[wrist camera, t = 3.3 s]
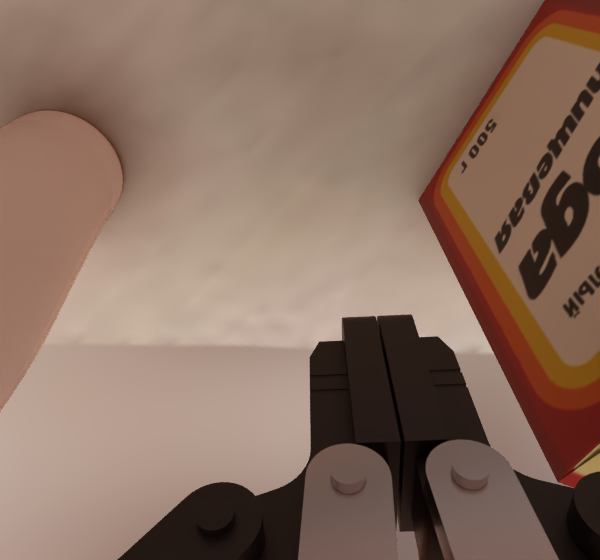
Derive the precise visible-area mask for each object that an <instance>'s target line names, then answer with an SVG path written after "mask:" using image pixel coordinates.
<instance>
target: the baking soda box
mask: <svg viewBox="0 0 600 560" xmlns="http://www.w3.org/2000/svg"><path fill="white" fill-rule="evenodd" d="M419 203H420V205H421V207H422V209H423V211H424V213H425V215H426V217H427V219H428V221H429V223H430V225H431V227H432V229H433V231H434V233H435V235H436V237H437V239H438V241H439V243H440V245H441V247H442V249H443V251H444V253H445V255H446V257H447V259H448V261H449V263H450V265H451V267H452V269H453V271H454V273H455V275H456V277H457V279H458V281H459V283H460V285H461V287H462V290H463V292H464V294H465V296H466V298H467V300H468V302H469V304H470V306H471V308H472V310H473V312H474V314H475V316H476V318H477V320H478V322H479V324H480V326H481V328H482V330H483V332H484V334H485V336H486V338H487V340H488V342H489V344H490V346H491V348H492V350H493V352H494V354H495V356H496V358H497V360H498V362H499V364H500V366H501V368H502V370H503V372H504V374H505V376H506V378H507V380H508V382H509V384H510V386H511V388H512V390H513V393H514V395H515V397H516V399H517V401H518V402H519V405H520V406H521V408H522V411H523V413H524V415H525V417H526V419H527V421H528V423H529V425H530V427H531V429H532V431H533V433H534V435H535V437H536V439H537V441H538V443H539V445H540V447H541V449H542V451H543V453H544V455H545V457H546V459H547V461H548V463H549V465H550V467H551V469H552V471H553V473H554V475H555V477H556V479H557V481H558V482H559V483H562V484H565V485H568V486H570V487H573V488H575V487H576V484H577V483H578V482H579V480H580V479H581V478H583V477H584V476H586V475H588V474H590V473H594V472H600V0H545V1H544V3H543V4H542V6H541V8H540V9H539V11H538V12H537V14H536V15H535V17H534V19H533V20H532V22H531V23H530V25H529V27H528V28H527V30H526V31H525V33H524V34H523V36H522V38H521V39H520V41H519V42H518V44H517V46H516V47H515V49H514V50H513V52H512V53H511V55H510V57H509V58H508V60H507V61H506V63H505V65H504V66H503V68H502V69H501V71H500V72H499V74H498V76H497V77H496V79H495V80H494V82H493V83H492V85H491V87H490V88H489V90H488V91H487V93H486V95H485V96H484V98H483V99H482V101H481V102H480V104H479V106H478V107H477V109H476V110H475V112H474V114H473V115H472V117H471V118H470V120H469V121H468V123H467V125H466V126H465V128H464V129H463V131H462V133H461V134H460V136H459V137H458V139H457V140H456V142H455V144H454V145H453V147H452V148H451V150H450V152H449V153H448V155H447V156H446V158H445V159H444V161H443V163H442V164H441V166H440V167H439V169H438V170H437V172H436V174H435V175H434V177H433V178H432V180H431V182H430V183H429V185H428V186H427V188H426V189H425V191H424V193H423V194H422V196H421V197H420V199H419Z"/></svg>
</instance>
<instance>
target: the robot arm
mask: <svg viewBox="0 0 600 560" xmlns="http://www.w3.org/2000/svg"><path fill="white" fill-rule="evenodd" d="M310 420H311V421H310V423H311V453H310V458H309V461H308V463H307V465H306V467H305V468H304V470H303V471H302V473H301V474H300V475H299V476H298V477H297V478H295V479H294V480H293V481H291V482H290V483H288V484H287V485H285V486H283V487H280V488H278V489H275V490H272V491H269V492H267V493H263V494H260V495H257V496H255V495H254V494H253V493H252V492H250V491H249V490H248V489H246V488H245V487H243V486H241V485H238V484H234V483H229V482H220V483H213V484H209V485H206V486H203V487H201V488H199V489H197V490H195V491H194V492H192V493H191V494H190V495H188V496H187V497H186V498H185V499H184V500H183V501H181V503H179V504H178V505H177V506H176V507H175V508H174V509H173V510H172V511H171V512H169V513H168V514H167V515H166V516H165V517H164V518H163V519H162V520H161V521H160V522H158V523H157V524H156V525H155V526H154V527H153V528H152V529H151V530H150V531H149V532H147V533H146V534H145V535H144V536H143V537H142V538H141V539H140V540H139V541H138V542H137V543H135V544H134V545H133V546H132V547H131V548H130V549H129V550H128V551H127V552H126V553H124V555H122V556H121V557H120V558H119V559H118V560H398V554H397V553H398V552H397V540H396V524H397V518H398V523H399V529H400V531H414V532H415V538H416V543H417V547H418V559H417V560H600V472H594V473H590V474H588V475H586V476H584V477H583V478H581V479H580V480H579V482H578V483H577V484H576V487H575V488H571V487H566V486H562V485H558V484H553V483H549V482H545V481H541V480H537V479H533V478H530V477H528V476H525V475H523V474H521V473H519V472H517V471H515V470H514V469H512V467H511V465H510V464H509V462H508V461H507V460H506V459H505V457H503V456H502V455H501V454H500V453H499V452H498V451H496V450H494V449H493V448H491V446H490V444H489V442H488V440H487V437H486V434H485V432H484V429H483V427H482V424H481V421H480V419H479V416H478V414H477V411H476V408H475V406H474V403H473V401H472V398H471V395H470V393H469V390H468V388H467V387H466V383H465V380H464V377H463V375H462V373H461V372H460V367H459V364H458V362H457V359H456V357H455V354H454V351H453V350H452V349H450V348H449V347H448V346H447V345H446V344H445V343H444V342H443V341H442V340H441V339H440V338H439V337H419V336H418V333H417V329H416V326H415V323H414V320H413V317H412V315H389V316H377V321H376V317H375V316H370V317H347V318H342V341H326V342H319V343H318V345H317V346H316V348H315V350H314V351H313V353H312V355H311V356H310Z"/></svg>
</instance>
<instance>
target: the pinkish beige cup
mask: <svg viewBox="0 0 600 560" xmlns="http://www.w3.org/2000/svg"><path fill="white" fill-rule="evenodd" d="M122 187H123V174H122V168H121V165H120V162H119V159H118V156H117V154H116V152H115V150H114V149H113V147H112V145H111V144H110V143H109V141H108V140H107V139H106V138H105V136H104V135H103V134H102V133H101V132H100V131H98V130H97V129H96V128H95V127H93V126H92V125H91V124H89V123H88V122H86V121H84V120H83V119H81V118H79V117H76V116H74V115H71V114H68V113H64V112H60V111H50V110H45V111H36V112H31V113H28V114H25V115H23V116H21V117H18V118H17V119H15V120H13V121H11V122H9V123H8V124H6V125H4V126H1V127H0V411H1V410H2V408H3V407H4V405H5V404H6V403H7V401H8V400H9V398H10V397H11V395H12V394H13V392H14V391H15V389H16V388H17V386H18V385H19V383H20V381H21V380H22V378H23V377H24V375H25V374H26V372H27V370H28V369H29V367H30V365H31V364H32V362H33V360H34V358H35V357H36V355H37V353H38V352H39V350H40V348H41V346H42V344H43V343H44V341H45V339H46V337H47V335H48V333H49V331H50V329H51V328H52V326H53V324H54V322H55V320H56V318H57V316H58V314H59V312H60V310H61V308H62V306H63V304H64V302H65V300H66V298H67V296H68V294H69V292H70V290H71V288H72V286H73V284H74V282H75V280H76V278H77V276H78V274H79V272H80V270H81V268H82V266H83V264H84V262H85V260H86V258H87V256H88V254H89V252H90V250H91V248H92V246H93V244H94V242H95V240H96V238H97V236H98V235H99V233H100V231H101V229H102V227H103V225H104V223H105V221H106V220H107V219H108V217H109V216H110V215H111V213H112V212H113V210H114V209H115V207H116V206H117V204H118V202H119V199H120V196H121V193H122Z"/></svg>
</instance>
